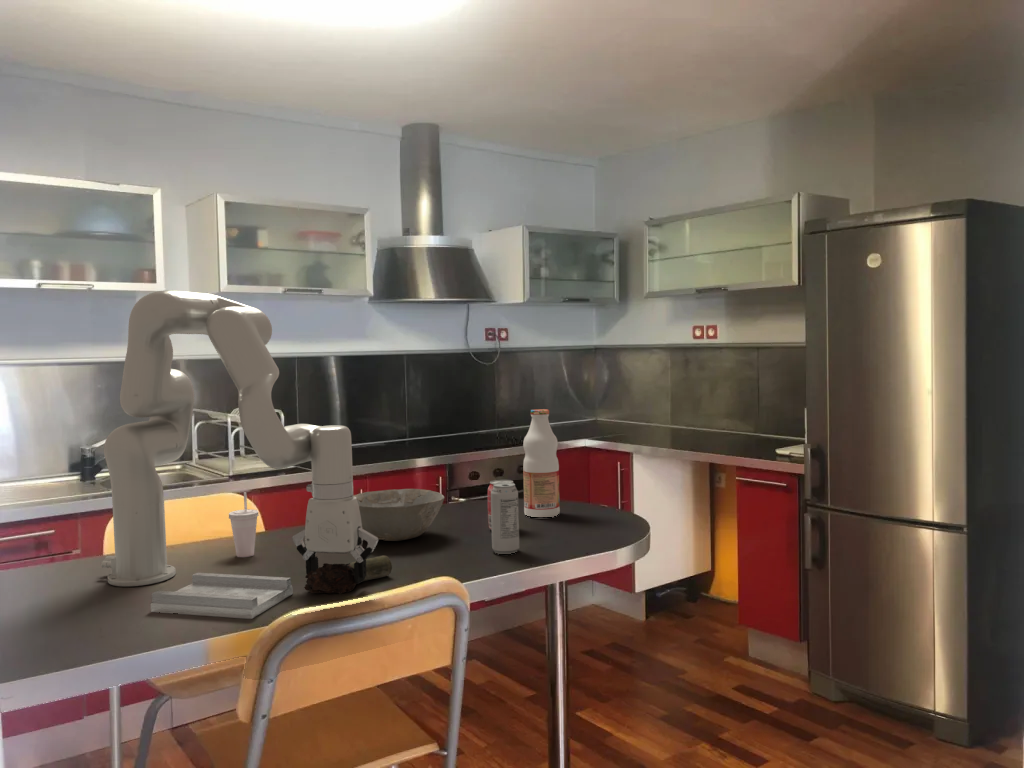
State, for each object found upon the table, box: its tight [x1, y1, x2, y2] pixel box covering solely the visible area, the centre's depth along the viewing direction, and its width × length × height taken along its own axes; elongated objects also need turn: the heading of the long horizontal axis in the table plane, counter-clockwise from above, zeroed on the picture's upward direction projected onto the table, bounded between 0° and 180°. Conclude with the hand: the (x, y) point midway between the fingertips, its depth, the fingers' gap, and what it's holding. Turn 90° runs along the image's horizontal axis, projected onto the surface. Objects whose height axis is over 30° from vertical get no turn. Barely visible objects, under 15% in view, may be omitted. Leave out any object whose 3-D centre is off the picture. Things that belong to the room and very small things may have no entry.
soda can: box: [487, 479, 514, 531], centre depth 203 cm, size 7×7×12 cm
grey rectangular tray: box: [150, 572, 294, 620], centre depth 151 cm, size 20×14×3 cm
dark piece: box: [303, 554, 393, 594], centre depth 159 cm, size 18×7×6 cm, turn 136°
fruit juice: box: [522, 408, 561, 518], centre depth 218 cm, size 9×9×28 cm
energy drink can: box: [491, 482, 520, 555], centre depth 182 cm, size 6×6×15 cm
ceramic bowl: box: [353, 488, 445, 542], centre depth 197 cm, size 22×23×10 cm
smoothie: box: [228, 491, 260, 558], centre depth 184 cm, size 6×6×14 cm
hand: (336, 580), depth 157 cm, fingers open, 9 cm apart
